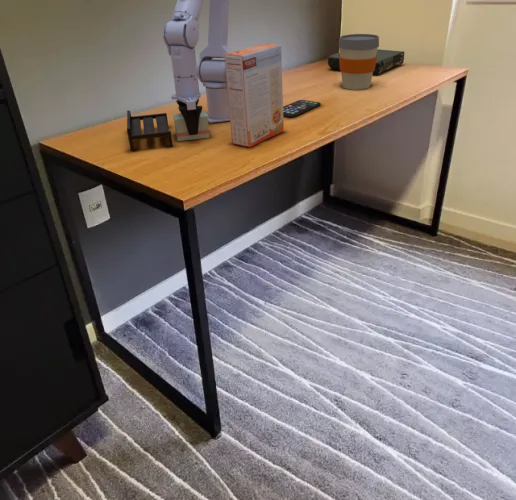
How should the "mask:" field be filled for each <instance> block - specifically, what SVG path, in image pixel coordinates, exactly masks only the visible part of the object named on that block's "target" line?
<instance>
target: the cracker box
mask: <svg viewBox="0 0 516 500" xmlns="http://www.w3.org/2000/svg"><path fill="white" fill-rule="evenodd" d="M224 56H225V58H224V60H225V67H226V78H227V89H228V100H229V111H230V121H229V122H230V131H231V142H232V145H236V146H241V147H245V148H252V147H253V146H254V147H255V146H256V145H258V144H260V143H262V142H264V141H266V140H268V139H270V138H272V137H274V136H277V135H279V134H280V133H283V132H284V131H285V129H284V124H285V123H284V116H283V107H284V99H283V98H284V97H283V96H284V94H283V64H282V63H283V62H282V44H279V43H278V44H276V43H275V44H274V43H266V42H265V43H264V42H263V43H259V44H256V45H252V46H249V47H245V48H242V49H241V48H240V49H238V50H234V51H232V52H230V53H226V54H225V55H224Z"/></svg>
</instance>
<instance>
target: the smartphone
mask: <svg viewBox="0 0 516 500" xmlns="http://www.w3.org/2000/svg"><path fill="white" fill-rule="evenodd" d="M319 106H321V102H319V101H313V100H307V99H299V100H296V101H294V102H291V103H289V104H287V105H283V117H288V118H294V117H296V116H297V117H298V116H299V115H302V114H304V113H306V112H308V111H310V110H313V109H314V108H318V107H319Z"/></svg>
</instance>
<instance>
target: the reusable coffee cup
mask: <svg viewBox="0 0 516 500" xmlns="http://www.w3.org/2000/svg"><path fill="white" fill-rule="evenodd" d="M379 47H380V36H379V35H377V34H370V33H352V34H351V33H350V34H345V35H341V36H340V37H339V41H338V48H339V53H340V56H339V63H340V71H339V72H341V85H342V88H344V89H347V90H356V91H357V90H366V89H368V88H370V87H371V83H372V78H373V75H372V74H373V71H374V70H375V65H376V60H377V55H376V54H377V49H379Z"/></svg>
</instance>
